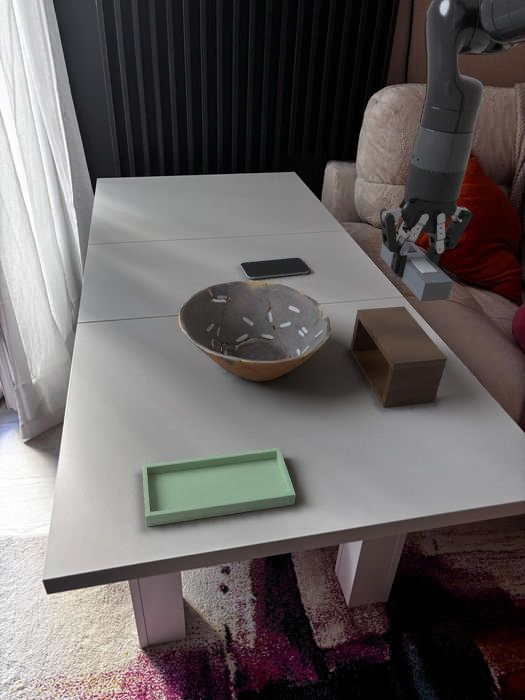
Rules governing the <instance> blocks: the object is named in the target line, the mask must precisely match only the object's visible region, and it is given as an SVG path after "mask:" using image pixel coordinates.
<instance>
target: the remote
mask: <svg viewBox="0 0 525 700" xmlns="http://www.w3.org/2000/svg"><path fill="white" fill-rule="evenodd" d="M406 255H407V260H406V264H405V268H404V273H403V276H402V277H398V278H399V280H401V282H403V284H404V285H405V286H406V287H407V288H408V289H409V290H410V291H411V293H412V294H413V295H414V296H415V297H416V298H417V299H418V301H419V302H431V301H433V302H435V301H445V300H447V301H448V300H449V298H450V294H451V290H452V286H453V283H454V281H453V280H452V279H451V278H450V277H449V276H448V275H447V274H446V273H445V272H444V271H443V270H442V269H441V268H440V267H439V265H438V266H437V265H436V264H434V263H433V262H432V261H431V260H430V259H429V258H428V257H427V256H426V253H424V251H422V250H421V249H420V248H419V247H418V246H417V245H416V244H415V242H414V243H412V244H411V246H410V248H409V250H408V252H407V254H406ZM379 257H380V258H381V259H383V261H384V262H385V263H386V265H387V266H388V267H389V268H390V269H391V262H392V257H393V252H390V251H389V250H388V248H387V247H386V246H385V245H384V244H383V242H382V244H381V248H380V254H379Z"/></svg>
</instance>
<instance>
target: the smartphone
mask: <svg viewBox="0 0 525 700" xmlns="http://www.w3.org/2000/svg"><path fill="white" fill-rule="evenodd" d="M240 269H241V270H242V272H243V273H244V275H245V277H246V278H247V279H249V280H257V279H258V280H259V279H267V278H276V277H284V276H285V277H287V276H295V275H296V276H297V275H305V274H309V273H310V270H311V269H310V267H308V265H306V263H305V262H304V260H303V259H302V258H300V257H288V258H276V259H267V260H255V261H244V262H241V263H240Z"/></svg>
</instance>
